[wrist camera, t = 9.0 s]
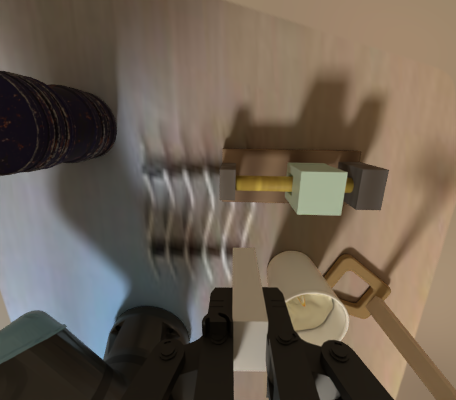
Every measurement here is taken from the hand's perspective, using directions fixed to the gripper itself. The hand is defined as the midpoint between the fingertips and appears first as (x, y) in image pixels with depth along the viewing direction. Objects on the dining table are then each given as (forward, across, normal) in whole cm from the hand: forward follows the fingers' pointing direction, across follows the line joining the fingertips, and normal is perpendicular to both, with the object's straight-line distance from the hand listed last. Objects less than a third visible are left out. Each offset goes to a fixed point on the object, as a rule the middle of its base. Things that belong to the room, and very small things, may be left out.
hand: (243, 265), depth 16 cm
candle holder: (+23, +9, -15) cm, 29 cm away
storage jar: (+23, -23, +10) cm, 34 cm away
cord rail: (+22, +8, +2) cm, 24 cm away
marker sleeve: (+19, +9, +2) cm, 21 cm away
